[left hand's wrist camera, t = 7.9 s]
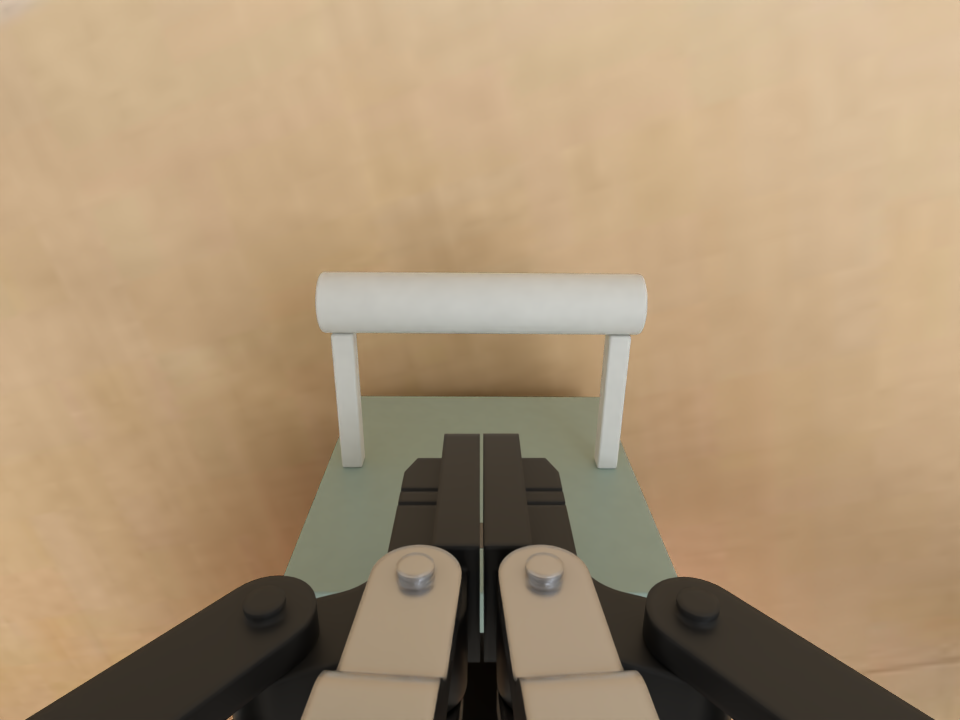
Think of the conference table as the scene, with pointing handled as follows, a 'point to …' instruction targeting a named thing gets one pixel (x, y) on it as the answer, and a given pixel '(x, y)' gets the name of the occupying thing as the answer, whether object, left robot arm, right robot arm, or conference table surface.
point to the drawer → (479, 427)
